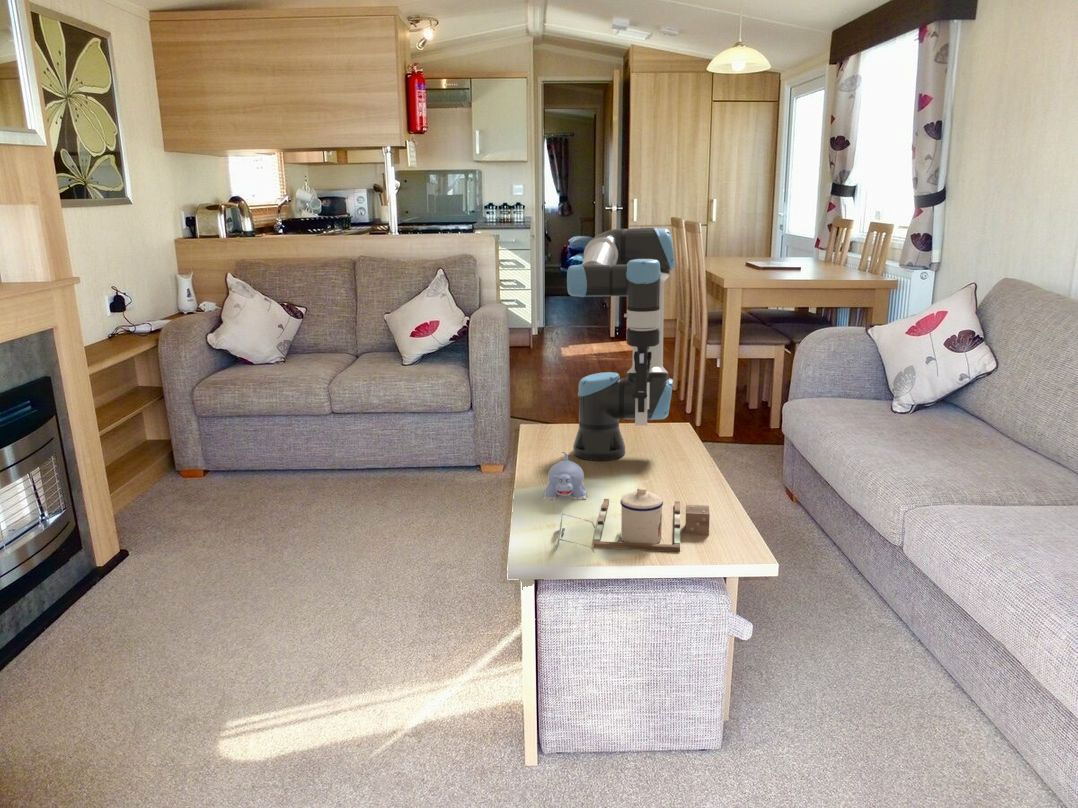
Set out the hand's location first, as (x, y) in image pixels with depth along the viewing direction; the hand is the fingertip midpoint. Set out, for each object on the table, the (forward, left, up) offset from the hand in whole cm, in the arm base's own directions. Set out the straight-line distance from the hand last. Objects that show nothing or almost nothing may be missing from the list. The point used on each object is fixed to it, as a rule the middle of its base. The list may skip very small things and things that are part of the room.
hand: (642, 416), depth 188 cm
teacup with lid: (+20, 0, -22) cm, 30 cm away
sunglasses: (+23, -13, -22) cm, 35 cm away
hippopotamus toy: (-2, -19, -22) cm, 29 cm away
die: (+15, +13, -22) cm, 30 cm away
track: (+13, 0, -22) cm, 26 cm away
